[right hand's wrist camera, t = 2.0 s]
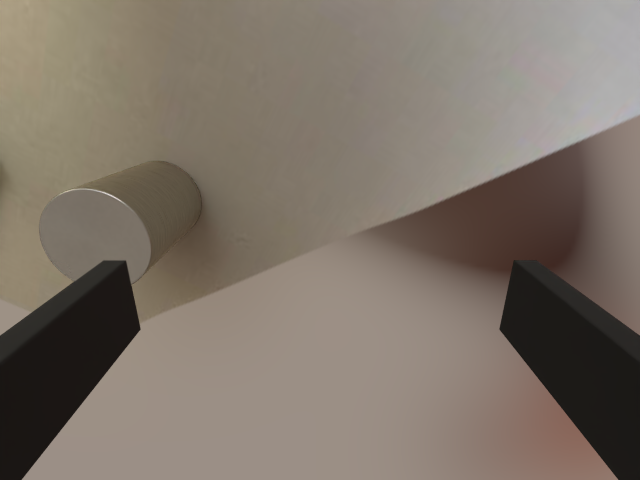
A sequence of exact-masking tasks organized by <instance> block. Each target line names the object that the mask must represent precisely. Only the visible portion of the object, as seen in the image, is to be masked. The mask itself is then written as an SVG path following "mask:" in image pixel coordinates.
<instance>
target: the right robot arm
mask: <svg viewBox="0 0 640 480" xmlns="http://www.w3.org/2000/svg"><path fill="white" fill-rule="evenodd" d="M139 331H140V324H139V320H138V315H137V310H136V305H135V300H134V296H133V291H132V286H131V281H130V276H129V272H128V267H127V262H126V260H103V261H102V262H101V263H99V264H98V265H96V266H95V267H94V268H92V269H91V270H90V271H88V272H87V273H86V274H84V275H83V276H81V277H80V278H79V279H77V280H76V281H75V282H73V283H72V284H70V285H69V286H68V287H66V288H65V289H64V290H62V291H61V292H59V293H58V294H57V295H55V296H54V297H53V298H51V299H50V300H48V301H47V302H46V303H44V304H43V305H42V306H40V307H39V308H38V309H36V310H35V311H33V312H32V313H31V314H29V315H28V316H27V317H25V318H24V319H22V320H21V321H20V322H18V323H17V324H16V325H14V326H13V327H11V328H10V329H9V330H7V331H6V332H5V333H3V334H2V335H1V336H0V480H22V478H23V477H24V476H25V475H26V473H27V472H28V471H29V470H30V468H31V467H32V466H33V465H34V463H35V462H36V461H37V460H38V458H39V457H40V456H41V454H42V453H43V452H44V451H45V449H46V448H47V447H48V446H49V444H50V443H51V442H52V441H53V439H54V438H55V437H56V436H57V434H58V433H59V432H60V430H61V429H62V428H63V427H64V425H65V424H66V423H67V422H68V420H69V419H70V418H71V417H72V415H73V414H74V413H75V411H76V410H77V409H78V408H79V406H80V405H81V404H82V403H83V401H84V400H85V399H86V398H87V396H88V395H89V394H90V392H91V391H92V390H93V389H94V388H95V386H96V385H97V384H98V382H99V381H100V380H101V379H102V377H103V376H104V375H105V374H106V372H107V371H108V370H109V369H110V367H111V366H112V365H113V363H114V362H115V361H116V360H117V358H118V357H119V356H120V355H121V353H122V352H123V351H124V350H125V348H126V347H127V346H128V344H129V343H130V342H131V341H132V339H133V338H134V337H135V336H136V334H137V333H138V332H139ZM500 331H501V332H502V333H503V334H504V336H505V337H506V338H507V339H508V341H509V342H510V343H511V345H512V346H513V347H514V348H515V350H516V351H517V352H518V353H519V355H520V356H521V357H522V358H523V360H524V361H525V362H526V363H527V365H528V366H529V367H530V369H531V370H532V371H533V372H534V374H535V375H536V376H537V377H538V379H539V380H540V381H541V382H542V384H543V385H544V386H545V387H546V389H547V390H548V391H549V393H550V394H551V395H552V396H553V398H554V399H555V400H556V401H557V403H558V404H559V405H560V406H561V408H562V409H563V410H564V411H565V413H566V414H567V415H568V417H569V418H570V419H571V420H572V422H573V423H574V424H575V425H576V427H577V428H578V429H579V430H580V432H581V433H582V434H583V436H584V437H585V438H586V439H587V441H588V442H589V443H590V444H591V446H592V447H593V448H594V449H595V451H596V452H597V453H598V454H599V456H600V457H601V458H602V459H603V461H604V462H605V463H606V465H607V466H608V467H609V468H610V470H611V471H612V472H613V473H614V475H615V476H616V477H617V478H618V480H640V335H638V334H637V333H635V332H634V331H633V330H631V329H630V328H629V327H627V326H626V325H624V324H623V323H622V322H620V321H619V320H618V319H616V318H615V317H613V316H612V315H611V314H609V313H608V312H607V311H605V310H604V309H602V308H601V307H600V306H598V305H597V304H596V303H594V302H593V301H592V300H590V299H589V298H587V297H586V296H585V295H583V294H582V293H581V292H579V291H578V290H576V289H575V288H574V287H572V286H571V285H570V284H568V283H567V282H565V281H564V280H563V279H561V278H560V277H559V276H557V275H556V274H554V273H553V272H552V271H550V270H549V269H548V268H546V267H545V266H544V265H542V264H541V263H539V262H538V261H536V260H514V262H513V267H512V272H511V276H510V281H509V286H508V291H507V296H506V300H505V305H504V310H503V315H502V320H501V324H500Z"/></svg>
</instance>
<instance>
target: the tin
mask: <svg viewBox="0 0 640 480" xmlns="http://www.w3.org/2000/svg"><path fill="white" fill-rule="evenodd" d="M200 212H201V196H200V193H199V190H198V188H197V186H196V184H195V182H194V181H193V180H192V178H191V177H190V176H189V175H188V174H187V173H186V172H185V171H183V170H182V169H180V168H179V167H177V166H175V165H173V164H170V163H167V162H162V161H151V162H146V163H143V164H140V165H137V166H135V167H132V168H129V169H126V170H123V171H121V172H118V173H115V174H112V175H109V176H107V177H104V178H101V179H98V180H95V181H92V182H90V183H87V184H84V185H81V186H78V187H76V188H73V189H70V190H67V191H65V192H62V193H60V194H58V195H57V196H55V197H54V198H53V199H52V200H51V201H50V202H49V203H48V204H47V206H46V207H45V209H44V211H43V213H42V215H41V218H40V224H39V233H40V239H41V242H42V246H43V248H44V250H45V252H46V254H47V256H48V257H49V259H50V260H51V262H52V263H53V264H54V265H55V266H56V268H57V269H58V270H59V271H61V272H62V273H63V274H64V275H65V276H67V277H68V278H70V279H71V280H73V281H76V280H77V279H79V278H80V277H81V276H83V275H84V274H86V273H87V272H88V271H90V270H91V269H92V268H94V267H95V266H96V265H98V264H99V263H101V262H102V261H103V260H126V262H127V267H128V272H129V276H130V281H131V284H133V283H135V282H136V281H137V280H139V279H140V278H141V277H142V276H143V275H144V274H145V273H146V272H147V271H148V270H149V269H150V268H151V267H152V266H153V265H154V264H155V263H156V262H157V261H158V260H159V259H160V258H161V257H162V256H163V255H164V254H165V253H166V252H167V251H168V250H169V249H170V248H171V247H172V246H173V245H174V244H175V243H176V242H177V241H178V240H180V239H181V238H182V237H183V236H184V235H185V234H186V233H187V232H188V231H189V230H190V229H191V228H192V227H193V226H194V224H195V223H196V222H197V220H198V218H199V216H200Z"/></svg>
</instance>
